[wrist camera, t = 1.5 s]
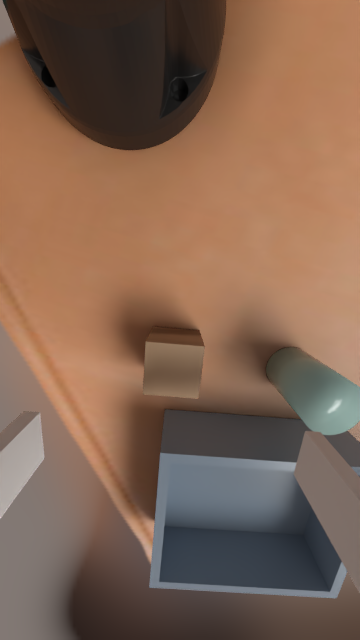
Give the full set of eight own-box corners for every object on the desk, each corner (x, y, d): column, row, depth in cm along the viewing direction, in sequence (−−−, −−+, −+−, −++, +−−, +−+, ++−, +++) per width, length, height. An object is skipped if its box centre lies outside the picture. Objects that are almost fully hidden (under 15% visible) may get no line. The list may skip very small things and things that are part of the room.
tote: (164, 409, 24) (160, 452, 18) (338, 422, 25) (387, 469, 19) (155, 522, 28) (149, 587, 22) (304, 531, 29) (336, 598, 23)
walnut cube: (153, 326, 22) (145, 341, 17) (199, 330, 22) (204, 346, 17) (150, 368, 23) (142, 394, 18) (194, 372, 23) (198, 398, 18)
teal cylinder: (270, 345, 22) (310, 377, 15) (315, 349, 22) (374, 382, 16) (262, 386, 23) (296, 432, 17) (305, 389, 24) (355, 437, 17)
